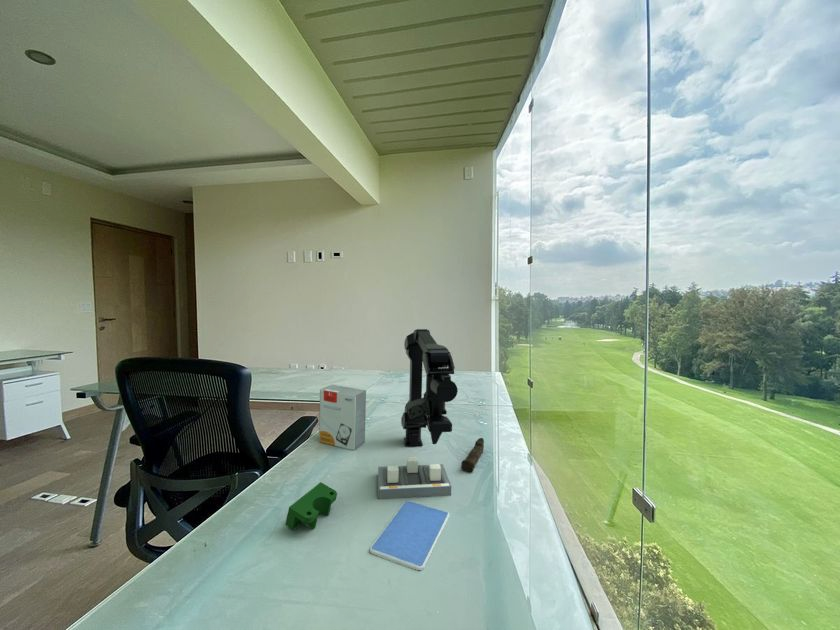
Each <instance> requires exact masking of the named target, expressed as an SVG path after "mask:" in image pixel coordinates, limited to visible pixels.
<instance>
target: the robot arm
mask: <svg viewBox="0 0 840 630" xmlns="http://www.w3.org/2000/svg"><path fill="white" fill-rule="evenodd" d="M403 345H404V346H403V348H404V350H405V354H406V356H407V358H408V359H409V390H408V392H409V393H408V394H409V395H408V396H409V397H408V398H409V399H408V401H407V402H406V404H405V406H404V412H403V413H402V416H401V421H400V424H401V427H402V428H403V430H405V437H403V442H404V443H403V444H404V446H405V447H422V446H423V445H424V443H423V440H422V429H423V428H424V429H426V428H427V430H428V432H429V433H430V438H431V443H432V445H437V443H438V442H439V440H440V438H441V436H442V434H443V433H452V431H453V423H452V421H451V420H450V418H449V417H448V416H445V415H448V414H447V412H448V411H447V409H446V403H448V402H452V401H453V400H455V399H456V397H457V395H458V391H459V389H458V387H457V384H456V383H455V382H454V381H453V380H452V376H451V375H455V368H456V367H455V364H454V360H453V357H452V354H451V352H450V351H449V348H448V347H446V346H445V345H441V344H438V343H437V341H436V340H435V339H434V337H433V336H432V334H431V331H430V329H427V328H417V329H414V330H413V332H411V333H410V334H408V335H406V338H405V339H404V342H403ZM423 367H424V371H425V375H426V377H425V378H426V379H425V392H424V393H423ZM422 395H423V396H422Z"/></svg>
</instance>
